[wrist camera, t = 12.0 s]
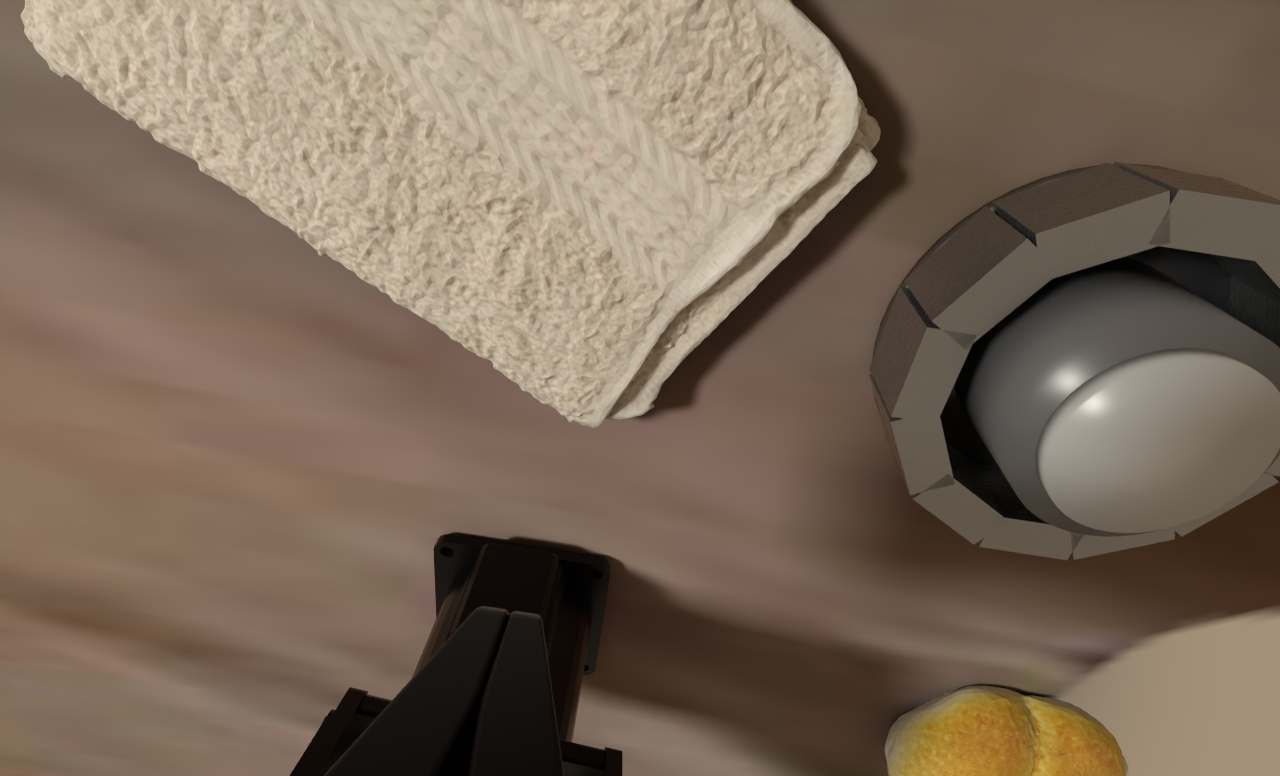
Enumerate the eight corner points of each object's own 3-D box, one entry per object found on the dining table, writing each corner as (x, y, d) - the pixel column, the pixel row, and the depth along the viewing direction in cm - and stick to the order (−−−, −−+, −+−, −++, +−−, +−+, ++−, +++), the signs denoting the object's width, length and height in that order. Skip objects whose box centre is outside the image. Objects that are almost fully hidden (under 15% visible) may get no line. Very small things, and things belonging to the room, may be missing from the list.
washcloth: (623, 411, 22) (613, 470, 19) (65, 42, 17) (-49, 53, 15) (904, 102, 16) (943, 125, 14) (200, -561, 12) (56, -718, 9)
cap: (1117, 456, 20) (1215, 567, 16) (923, 427, 20) (975, 531, 16) (1234, 273, 17) (1389, 356, 13) (1004, 239, 17) (1092, 312, 13)
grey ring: (1142, 512, 22) (1198, 580, 19) (829, 464, 22) (846, 526, 19) (1366, 198, 16) (1485, 237, 14) (949, 133, 16) (994, 160, 14)
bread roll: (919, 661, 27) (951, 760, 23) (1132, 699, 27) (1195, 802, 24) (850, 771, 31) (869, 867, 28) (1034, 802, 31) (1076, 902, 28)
